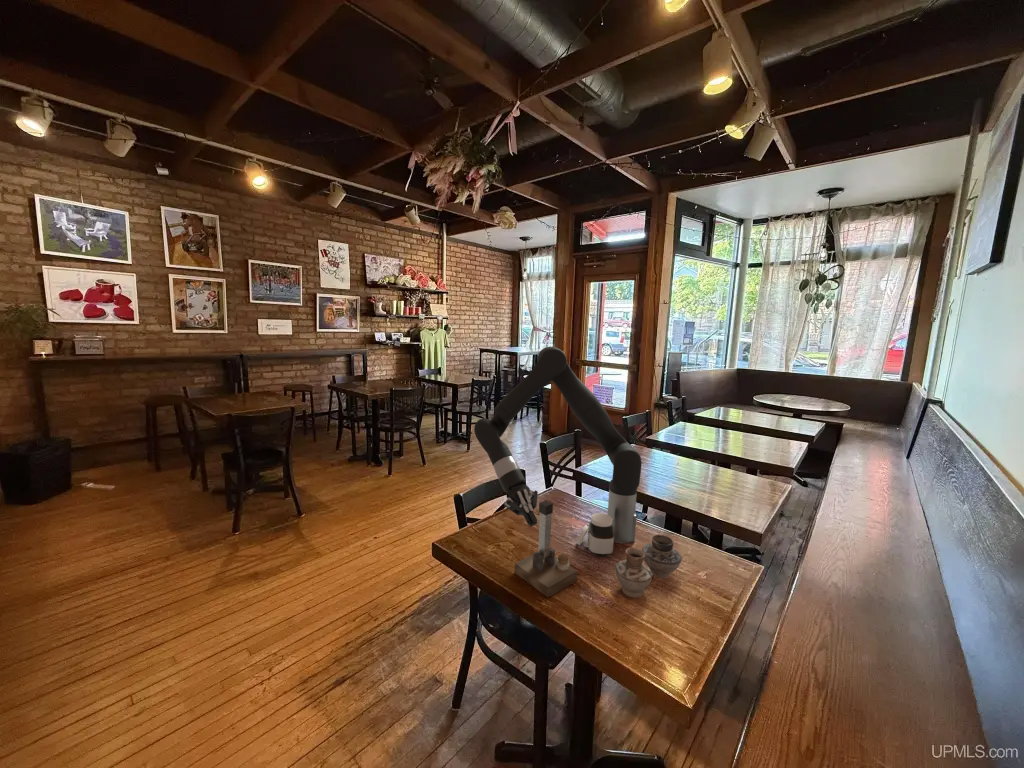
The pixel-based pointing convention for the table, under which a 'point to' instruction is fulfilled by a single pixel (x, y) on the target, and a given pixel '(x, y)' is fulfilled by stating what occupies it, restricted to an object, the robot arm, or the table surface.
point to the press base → (547, 572)
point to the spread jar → (599, 535)
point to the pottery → (657, 559)
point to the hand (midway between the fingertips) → (534, 524)
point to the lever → (545, 528)
